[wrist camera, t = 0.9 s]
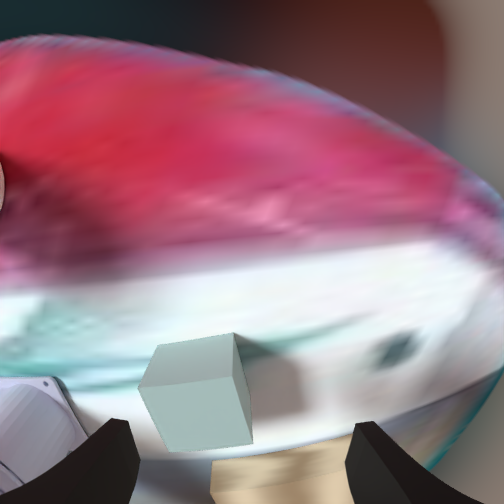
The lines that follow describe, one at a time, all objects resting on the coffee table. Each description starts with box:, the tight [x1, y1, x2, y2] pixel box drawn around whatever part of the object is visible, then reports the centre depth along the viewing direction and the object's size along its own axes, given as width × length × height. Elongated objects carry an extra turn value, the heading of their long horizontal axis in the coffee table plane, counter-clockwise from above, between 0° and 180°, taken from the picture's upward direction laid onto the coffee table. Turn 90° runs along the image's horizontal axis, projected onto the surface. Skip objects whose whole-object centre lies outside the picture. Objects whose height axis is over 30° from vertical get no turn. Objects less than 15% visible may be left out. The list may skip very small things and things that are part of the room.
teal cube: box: [138, 333, 253, 453], centre depth 17 cm, size 5×5×5 cm
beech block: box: [210, 434, 354, 504], centre depth 21 cm, size 12×12×4 cm
